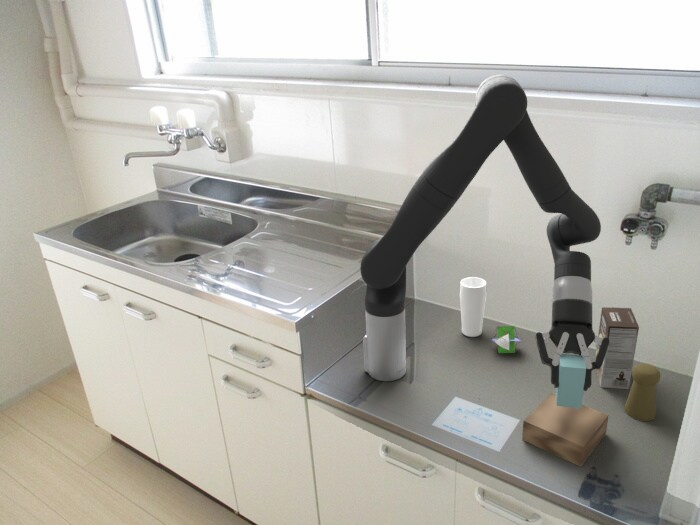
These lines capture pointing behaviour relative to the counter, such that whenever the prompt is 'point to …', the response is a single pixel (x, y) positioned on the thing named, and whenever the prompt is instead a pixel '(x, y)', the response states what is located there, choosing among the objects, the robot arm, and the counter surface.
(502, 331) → the geometric puzzle
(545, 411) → the walnut block
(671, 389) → the counter surface
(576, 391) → the teal block
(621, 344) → the coffee box
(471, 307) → the drinking glass
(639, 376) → the cork
